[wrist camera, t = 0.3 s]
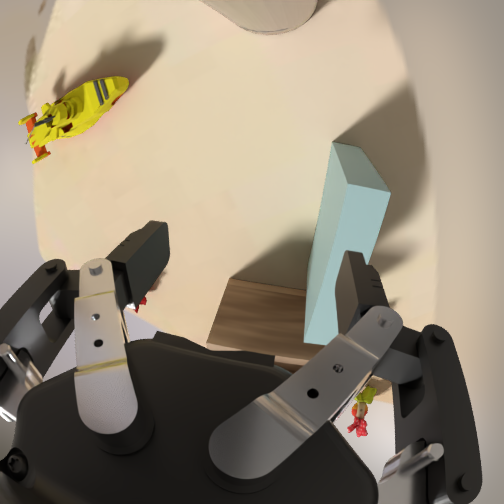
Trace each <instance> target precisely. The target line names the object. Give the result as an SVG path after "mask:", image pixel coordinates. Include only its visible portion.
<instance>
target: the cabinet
mask: <svg viewBox="0 0 504 504" xmlns="http://www.w3.org/2000/svg"><path fill="white" fill-rule="evenodd" d="M306 292H307V291H306V290H299V289H293V288H286V287H280V286H273V285H267V284H261V283H255V282H249V281H243V280H237V279H231V278H229V281H228V284H227V286H226V289H225V292H224V295H223V297H222V300H221V303H220V306H219V309H218V311H217V314H216V317H215V320H214V322H213V325H212V328H211V331H210V334H209V337H208V339H207V342H206V344H207V349H209V350H214V351H239V350H245V351H251V352H257V353H262V354H269V355H275V361H274V365H277V366H279V367H281V368H283V369H285V370H287V371H289V372H290V373H292V374H294V373H295V372H297V371H298V370H299V369H300V368H301V367H302V366H304V365H305V364H306V363H307V362H308V361H309V360H310V359H312V358H313V357H314V356H315V355H316V354H317V353H318V352H319V351H321V350H322V349H323V348H324V347H325V346H326V345H320V344H312V343H304V329H305V312H306Z"/></svg>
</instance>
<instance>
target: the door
mask: <svg viewBox="0 0 504 504" xmlns="http://www.w3.org/2000/svg"><path fill="white" fill-rule="evenodd" d="M390 195H391V192H390V190H389V189H388V187H387V186H386V184H385V183H384V181H383V179H382V178H381V176H380V175H379V173H378V172H377V170H376V169H375V168H374V166H373V165H372V163H371V162H370V160H369V159H368V158H367V156H366V155H365V153H364V152H363V151H362V149H361V148H360V147H356V146H351V145H346V144H341V143H336V142H332V145H331V151H330V157H329V163H328V169H327V174H326V180H325V185H324V190H323V196H322V201H321V206H320V211H319V216H318V221H317V226H316V230H315V235H314V240H313V244H312V249H311V253H310V258H309V262H308V267H307V292H306V312H305V329H304V343H312V344H320V345H327V344H328V343H329V342H330V341H331V340H332V339H333V338H335V337H336V336H337V335H338V322H337V310H336V300H335V284H336V279H337V276H338V273H339V269H340V266H341V262H342V259H343V255H344V252H345V251H346V250H350V251H356V252H362V253H363V256H364V259H365V262H366V265H368V262H369V260H370V257H371V254H372V251H373V248H374V245H375V242H376V240H377V237H378V234H379V231H380V227H381V224H382V221H383V218H384V215H385V212H386V208H387V205H388V202H389V198H390Z"/></svg>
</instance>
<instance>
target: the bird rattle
mask: <svg viewBox="0 0 504 504" xmlns="http://www.w3.org/2000/svg"><path fill="white" fill-rule="evenodd" d="M376 392H377V389H376V388H370V386H367V387H366V388H365V389H364V390H363V392H362V393H361V392H360V393H359V394H358V395H357V396H356V397H355V400H356V401H357V403H356V404H355V405H354V406H353V407H352V415H353V416H354V417H355V418H354V423H353V424H352V425H351V426H349V427H348V433H350V432H352V431H353V430H354V429H355V428H356V433H357V437H360V436H367V434H368V433H367V430H366V426H367V423H366V421H365V420H364V416H365V415H366V414H367V411H368V407H367V405H366V403H367V404H371V403H372V401H373V397H374V395H375V394H376Z"/></svg>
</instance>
